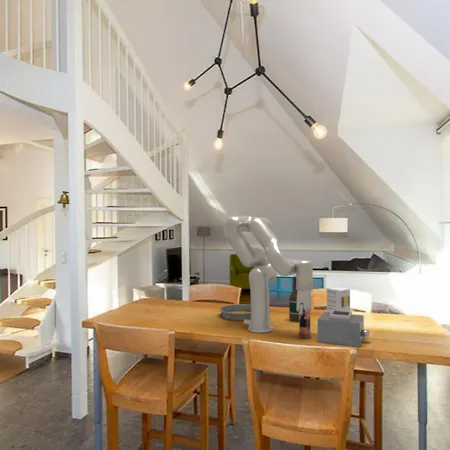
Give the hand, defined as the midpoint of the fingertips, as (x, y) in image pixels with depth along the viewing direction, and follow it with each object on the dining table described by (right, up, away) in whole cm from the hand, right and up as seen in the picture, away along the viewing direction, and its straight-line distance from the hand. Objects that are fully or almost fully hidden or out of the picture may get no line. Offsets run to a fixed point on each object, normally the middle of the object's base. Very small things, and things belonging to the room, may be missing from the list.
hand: (304, 325), depth 179 cm
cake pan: (-28, -6, +41) cm, 50 cm away
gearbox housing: (+17, -5, -5) cm, 19 cm away
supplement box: (+25, -5, +32) cm, 41 cm away
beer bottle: (+2, -5, +29) cm, 30 cm away
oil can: (0, -5, 0) cm, 5 cm away
